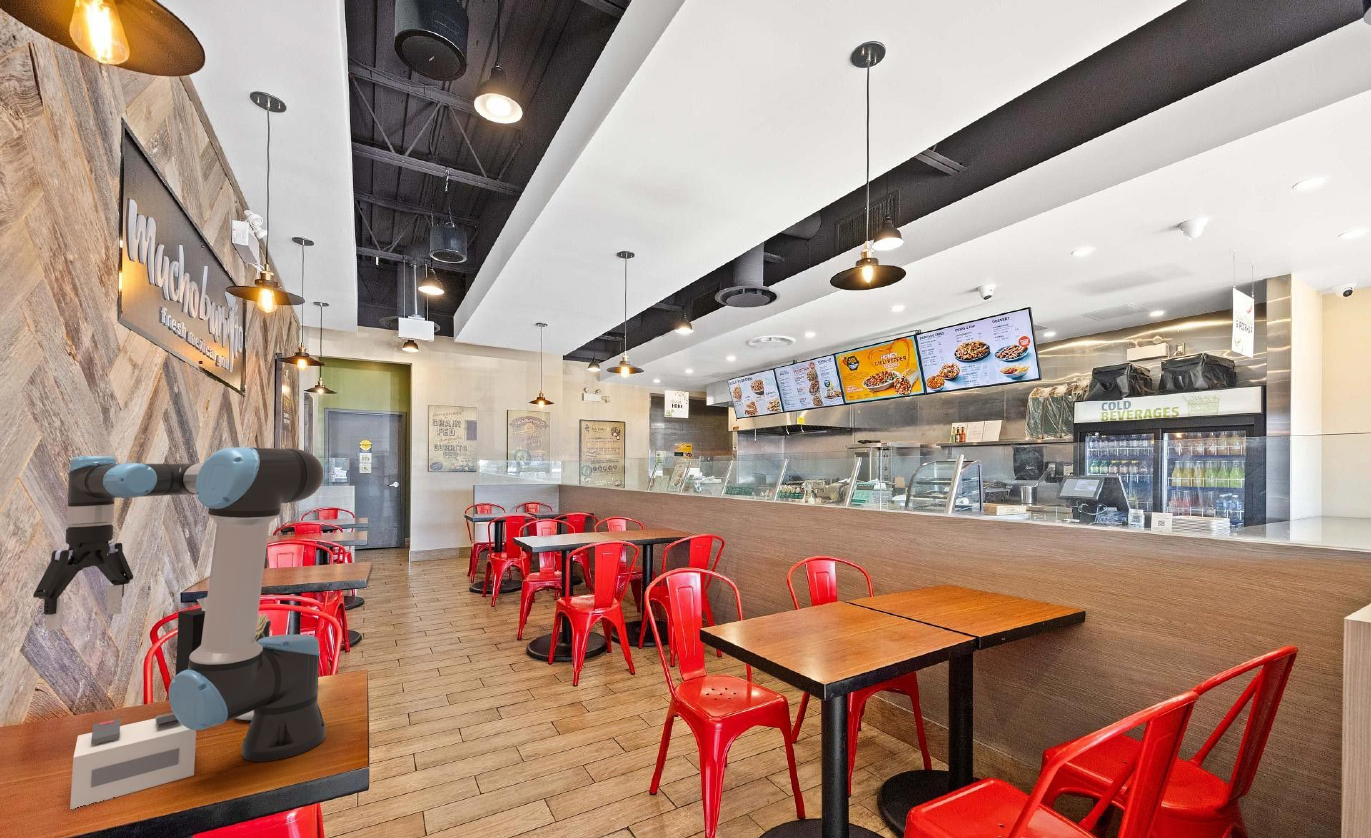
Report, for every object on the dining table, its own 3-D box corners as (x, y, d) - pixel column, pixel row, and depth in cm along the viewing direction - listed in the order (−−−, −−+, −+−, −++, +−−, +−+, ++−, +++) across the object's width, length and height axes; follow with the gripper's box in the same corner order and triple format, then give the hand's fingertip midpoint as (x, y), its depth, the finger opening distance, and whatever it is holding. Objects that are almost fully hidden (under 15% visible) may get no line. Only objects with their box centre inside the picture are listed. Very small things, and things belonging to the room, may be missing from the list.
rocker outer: (93, 729, 114) (93, 723, 114) (120, 722, 117) (120, 717, 117) (91, 744, 110) (91, 739, 110) (119, 738, 113) (119, 732, 112)
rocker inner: (155, 721, 120) (155, 715, 120) (180, 715, 123) (180, 710, 123) (156, 723, 116) (156, 717, 116) (181, 718, 119) (182, 712, 119)
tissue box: (172, 714, 146) (178, 598, 148) (210, 702, 153) (215, 592, 155) (188, 720, 143) (194, 601, 145) (225, 708, 150) (231, 595, 152)
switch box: (74, 784, 114) (78, 733, 115) (189, 754, 126) (191, 708, 126) (69, 810, 105) (73, 755, 106) (193, 775, 117) (196, 726, 117)
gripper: (123, 520, 146) (119, 608, 144) (11, 531, 121) (5, 637, 119) (155, 519, 146) (151, 607, 144) (49, 529, 121) (43, 636, 119)
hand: (85, 621), depth 132 cm, fingers open, 13 cm apart
